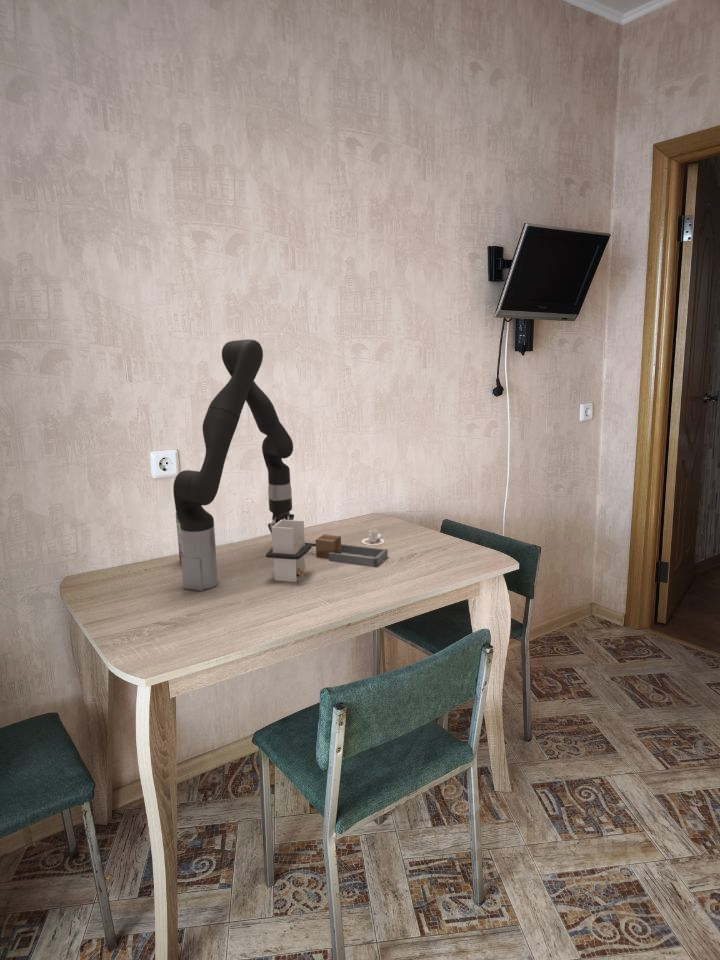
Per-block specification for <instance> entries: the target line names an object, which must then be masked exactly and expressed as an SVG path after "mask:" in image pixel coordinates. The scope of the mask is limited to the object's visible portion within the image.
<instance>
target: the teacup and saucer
mask: <svg viewBox="0 0 720 960" xmlns="http://www.w3.org/2000/svg"><path fill="white" fill-rule="evenodd" d="M367 540H369V543H367V542H366V541H367ZM378 540H379V541H380V542H379V543H377V542H378ZM360 542H361V543H362V544H363V545H365V546H366V545H368V546H378V545H379V546H380V545H382V544H384V543H386V542H385V539H384V538H382V534H381V533H379V530H377V529H370V530H368V537H367V538H363V539H362V540H361V541H360Z"/></svg>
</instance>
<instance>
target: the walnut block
mask: <svg viewBox="0 0 720 960" xmlns="http://www.w3.org/2000/svg"><path fill="white" fill-rule="evenodd" d="M305 544H311V547H315V555H316V556H315V557H316V558H318V559H325V560H326V559H327V560H329V553H330V552H332V553H340V554H342V552H341V544H342V536H340V535H333V534H325V533H324V534H323V535H320V536H319V537H317V538H316V539H315V543H310V542H305Z"/></svg>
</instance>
